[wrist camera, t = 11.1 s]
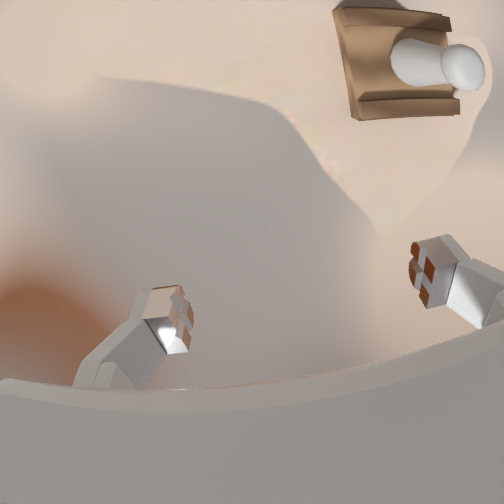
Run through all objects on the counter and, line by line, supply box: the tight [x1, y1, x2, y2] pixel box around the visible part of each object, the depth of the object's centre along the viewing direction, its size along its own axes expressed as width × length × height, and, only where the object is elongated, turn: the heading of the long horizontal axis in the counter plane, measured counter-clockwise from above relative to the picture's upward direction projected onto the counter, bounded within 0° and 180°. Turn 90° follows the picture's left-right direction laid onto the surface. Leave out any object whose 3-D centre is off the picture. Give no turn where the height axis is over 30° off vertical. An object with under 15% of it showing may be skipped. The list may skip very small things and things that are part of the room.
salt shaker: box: [389, 38, 485, 92], centre depth 21 cm, size 6×6×13 cm
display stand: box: [332, 7, 460, 121], centre depth 27 cm, size 14×14×4 cm
